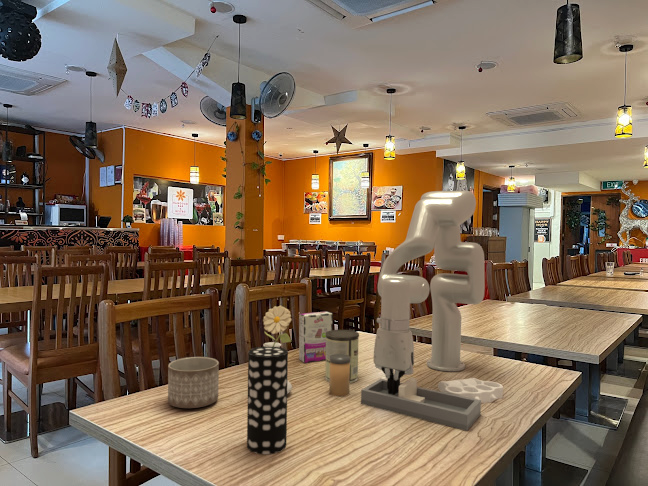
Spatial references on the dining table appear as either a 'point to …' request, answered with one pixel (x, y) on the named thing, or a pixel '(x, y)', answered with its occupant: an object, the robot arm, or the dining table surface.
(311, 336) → the candy bar box
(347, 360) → the jar
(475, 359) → the dining table surface
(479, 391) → the knuckle duster
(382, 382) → the grey rectangular tray
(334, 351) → the coffee can
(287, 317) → the flower in vase
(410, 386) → the plate
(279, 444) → the white-spotted black cylinder
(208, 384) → the planter
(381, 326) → the robot arm
